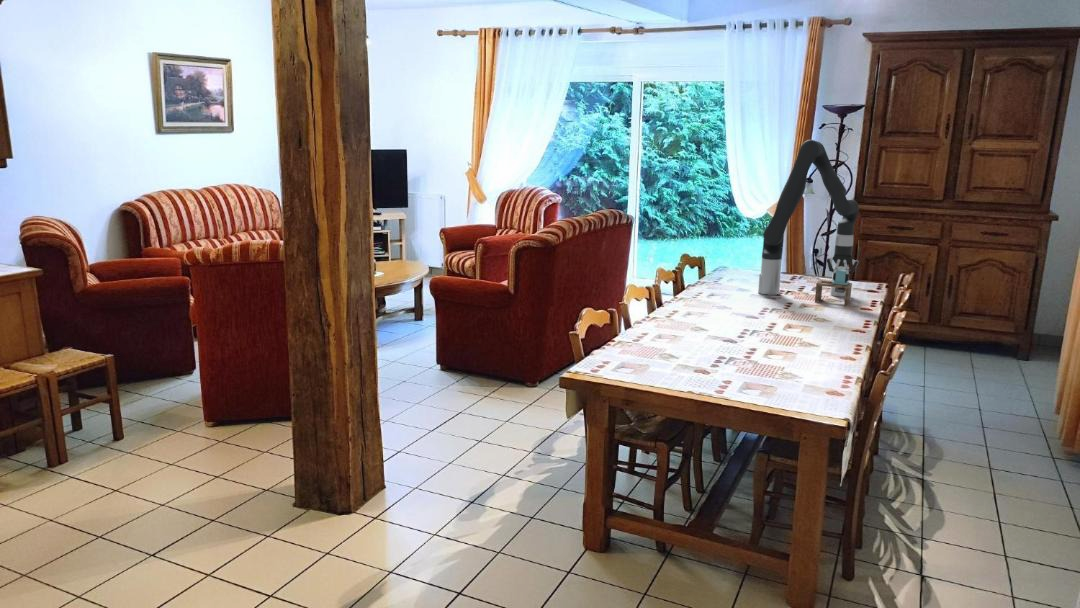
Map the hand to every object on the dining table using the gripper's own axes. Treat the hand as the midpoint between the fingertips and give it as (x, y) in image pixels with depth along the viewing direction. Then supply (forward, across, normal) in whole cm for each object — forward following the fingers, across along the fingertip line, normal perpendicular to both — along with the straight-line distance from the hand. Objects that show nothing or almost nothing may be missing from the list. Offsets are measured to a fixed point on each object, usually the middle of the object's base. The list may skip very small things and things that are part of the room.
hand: (840, 281), depth 352 cm
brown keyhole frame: (+10, +3, 0) cm, 10 cm away
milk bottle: (+10, +3, -18) cm, 21 cm away
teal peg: (+5, 0, 0) cm, 5 cm away
